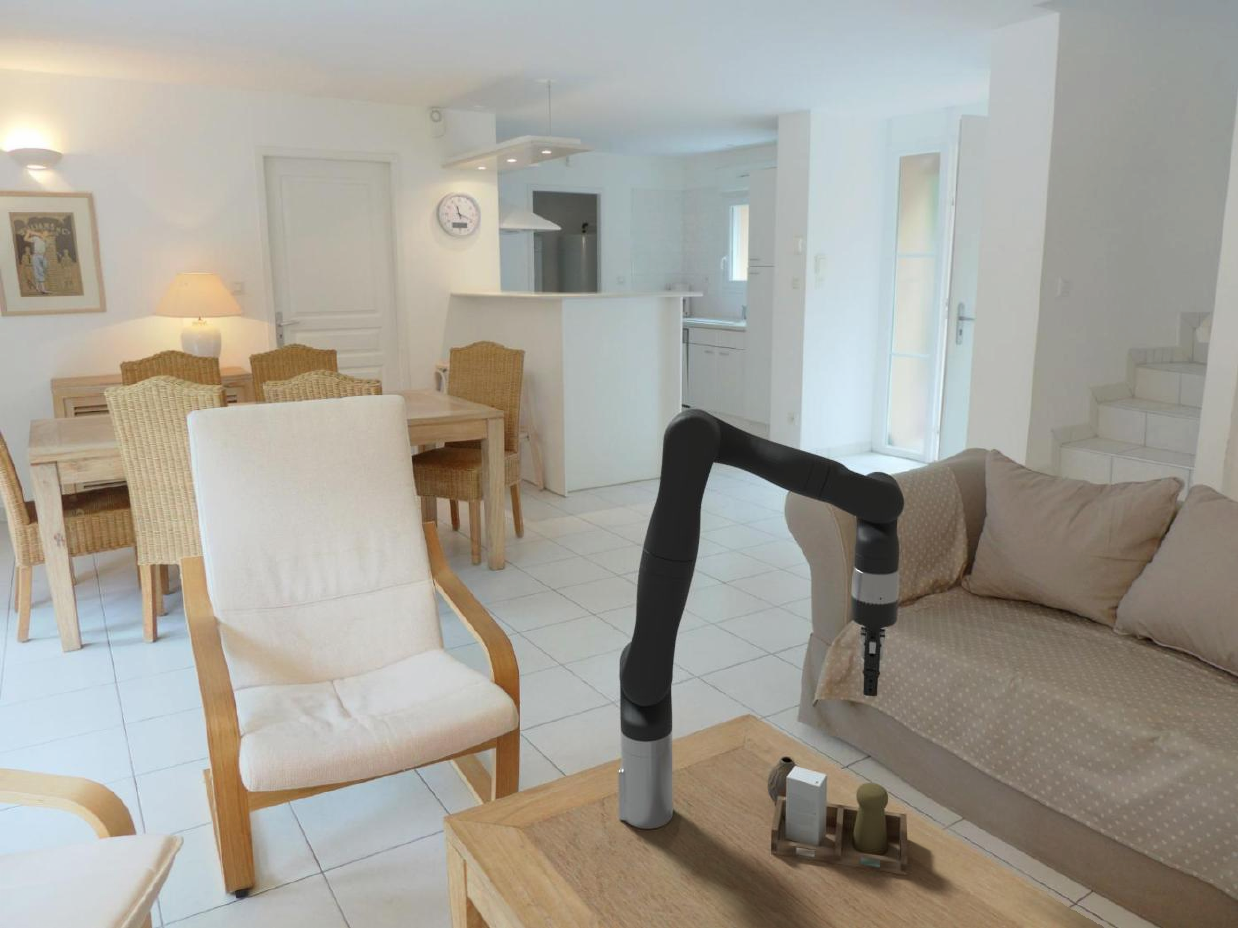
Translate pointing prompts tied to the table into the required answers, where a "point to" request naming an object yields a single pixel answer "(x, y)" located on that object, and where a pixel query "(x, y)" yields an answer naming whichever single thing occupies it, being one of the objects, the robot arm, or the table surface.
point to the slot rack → (844, 840)
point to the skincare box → (806, 806)
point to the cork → (871, 820)
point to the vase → (779, 777)
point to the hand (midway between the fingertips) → (870, 683)
